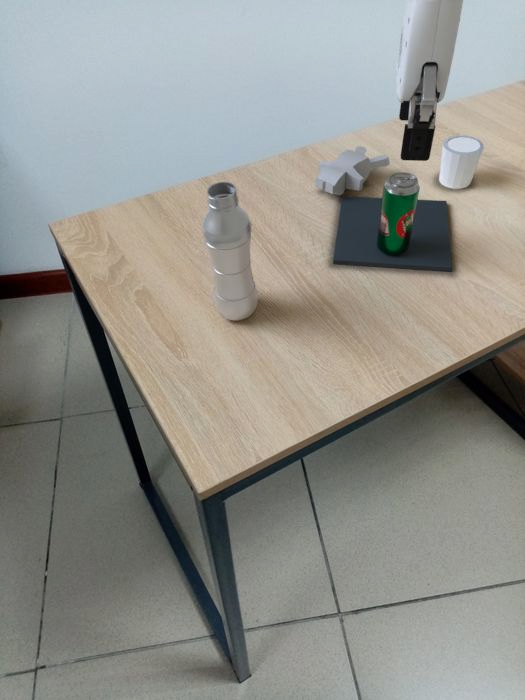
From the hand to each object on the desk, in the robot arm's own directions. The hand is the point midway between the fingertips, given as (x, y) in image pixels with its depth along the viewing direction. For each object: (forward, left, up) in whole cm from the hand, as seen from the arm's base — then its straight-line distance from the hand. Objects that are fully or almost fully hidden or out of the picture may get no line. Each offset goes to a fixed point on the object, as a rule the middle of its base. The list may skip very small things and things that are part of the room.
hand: (413, 138), depth 64 cm
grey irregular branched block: (+8, -26, -22) cm, 35 cm away
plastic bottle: (+22, +9, -22) cm, 33 cm away
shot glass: (-11, -29, -22) cm, 38 cm away
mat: (0, -12, -22) cm, 25 cm away
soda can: (0, -7, -22) cm, 23 cm away
